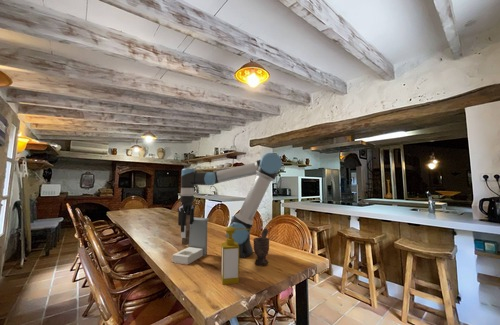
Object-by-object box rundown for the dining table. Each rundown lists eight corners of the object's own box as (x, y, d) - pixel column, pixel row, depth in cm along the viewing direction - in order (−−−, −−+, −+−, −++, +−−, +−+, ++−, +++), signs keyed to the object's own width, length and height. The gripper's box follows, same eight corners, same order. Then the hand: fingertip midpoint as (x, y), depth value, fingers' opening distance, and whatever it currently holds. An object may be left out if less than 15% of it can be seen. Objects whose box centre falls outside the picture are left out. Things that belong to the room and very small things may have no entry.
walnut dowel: (190, 243, 122) (191, 215, 124) (186, 245, 119) (187, 216, 120) (184, 242, 124) (185, 214, 125) (180, 244, 120) (181, 215, 121)
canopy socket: (208, 254, 130) (208, 218, 132) (190, 265, 113) (191, 223, 115) (188, 251, 135) (189, 217, 137) (169, 261, 118) (170, 222, 120)
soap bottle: (251, 281, 95) (251, 227, 97) (222, 284, 92) (223, 228, 94) (247, 274, 102) (248, 224, 104) (221, 277, 99) (221, 225, 101)
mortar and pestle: (276, 266, 112) (276, 227, 114) (264, 270, 107) (264, 229, 109) (262, 259, 122) (262, 224, 123) (250, 263, 117) (250, 225, 118)
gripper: (190, 194, 133) (189, 232, 131) (172, 195, 117) (170, 239, 115) (201, 194, 130) (199, 233, 128) (183, 196, 114) (181, 241, 112)
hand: (185, 236), depth 121 cm, fingers closed on walnut dowel, 4 cm apart
